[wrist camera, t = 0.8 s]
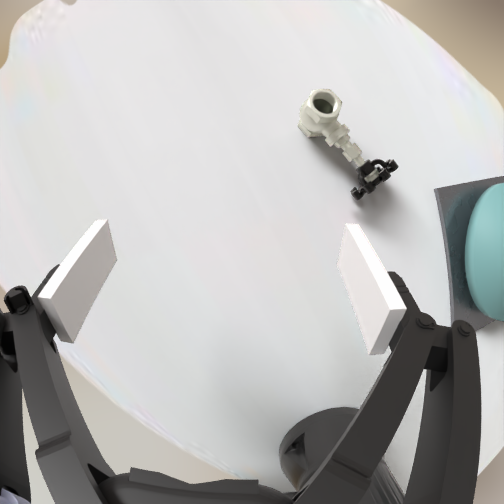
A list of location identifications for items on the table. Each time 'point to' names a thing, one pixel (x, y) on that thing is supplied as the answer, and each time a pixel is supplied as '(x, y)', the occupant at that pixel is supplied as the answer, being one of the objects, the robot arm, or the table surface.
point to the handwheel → (487, 253)
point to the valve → (341, 138)
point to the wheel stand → (461, 244)
